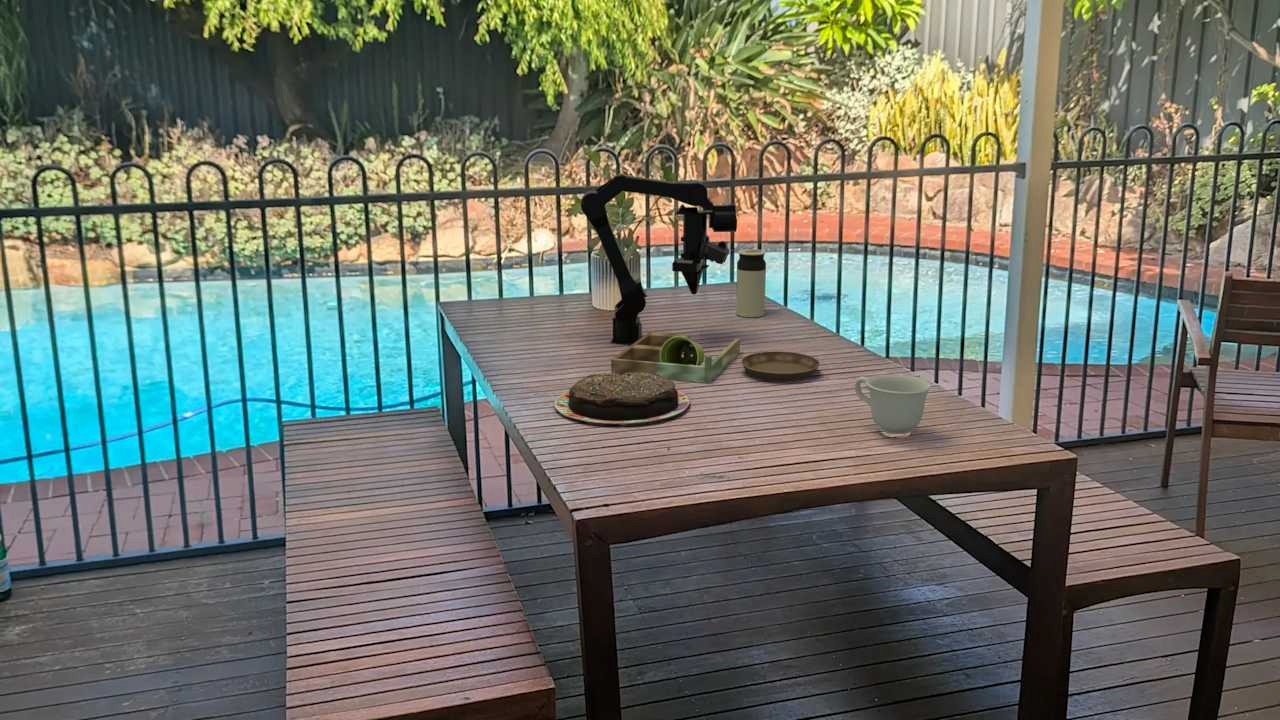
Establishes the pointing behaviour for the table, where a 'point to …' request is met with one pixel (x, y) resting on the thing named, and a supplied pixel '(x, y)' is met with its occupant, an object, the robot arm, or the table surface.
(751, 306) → the travel mug
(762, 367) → the plant saucer
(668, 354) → the plant pot
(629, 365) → the compartment box
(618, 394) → the chocolate cake
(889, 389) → the teacup
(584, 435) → the table surface
